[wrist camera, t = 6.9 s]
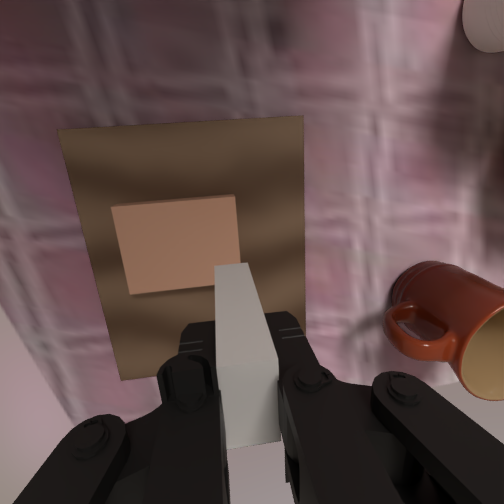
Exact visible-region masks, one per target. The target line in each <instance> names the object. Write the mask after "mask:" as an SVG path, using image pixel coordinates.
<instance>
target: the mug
mask: <svg viewBox="0 0 504 504" xmlns="http://www.w3.org/2000/svg"><path fill="white" fill-rule="evenodd" d="M397 323H404V324H405V326H406V327H407V328H408V329H409V330H411V331H412V332H414V333H415V334H416V335H417V336H419V337H420V338H421V339H422V340H419V339H416V338H413V337H411V336H410V335H408V334H407V333H406V332H405V331H403V330H402V329H401V328H400V326H399V325H398V324H397ZM383 330H384V333H385V335H386V337H387V338H388V340H389V341H390V342H391V344H392V345H393V346H394V347H395V348H396V349H397V350H398V351H399V352H401V353H402V354H404V355H406V356H407V357H409V358H412V359H415V360H420V361H439V362H448V363H449V365H450V366H451V368H452V369H453V371H454V373H455V374H456V376H457V378H458V379H459V381H460V382H461V384H462V385H463V387H464V388H465V389H466V390H467V391H468V392H469V393H470V394H472V395H473V396H475V397H477V398H480V399H484V400H489V401H501V400H504V288H502V287H500V286H497V285H495V284H493V283H491V282H489V281H487V280H485V279H483V278H481V277H479V276H477V275H475V274H472V273H470V272H468V271H466V270H464V269H462V268H460V267H458V266H456V265H452V264H446V263H442V262H438V261H425V262H421V263H418V264H416V265H414V266H412V267H411V268H409V269H408V270H407V271H405V272H404V273H403V274H402V275H401V277H400V278H399V279H398V280H397V282H396V284H395V286H394V289H393V292H392V307H391V308H390V309H388V310H387V311H386V312H385V314H384V317H383Z"/></svg>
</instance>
